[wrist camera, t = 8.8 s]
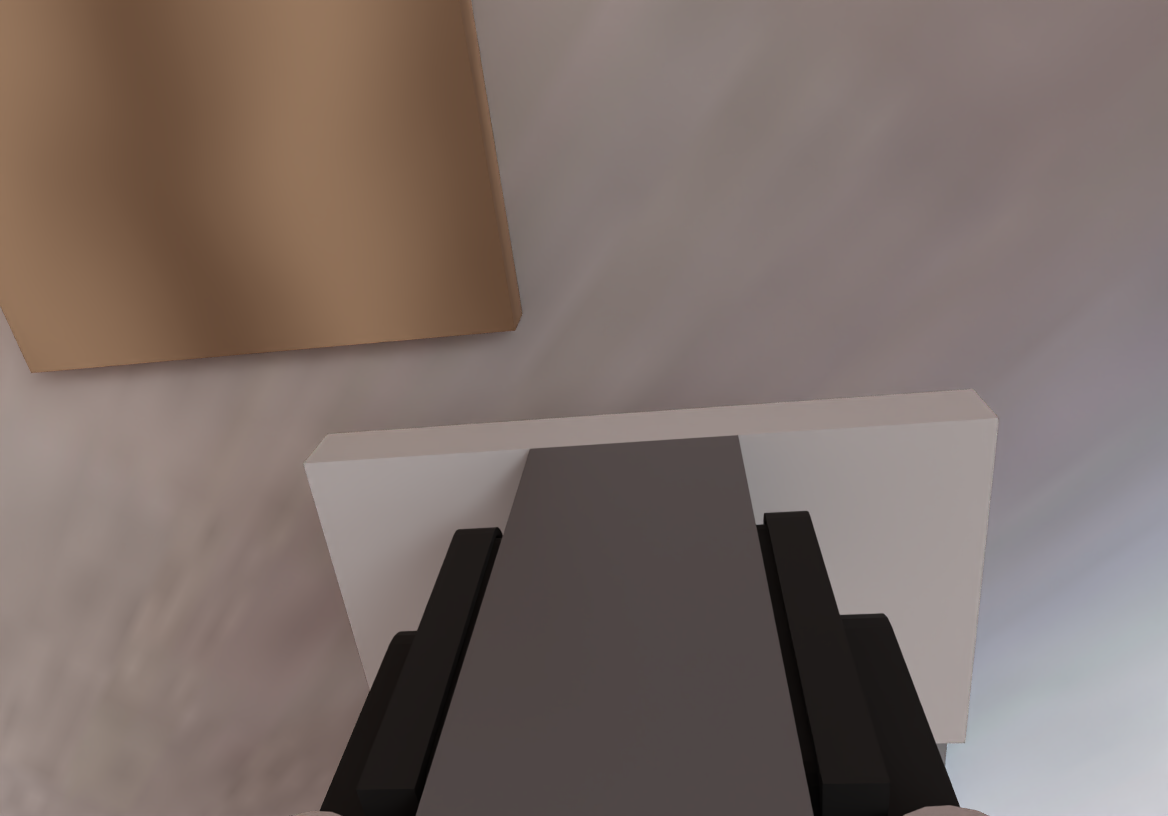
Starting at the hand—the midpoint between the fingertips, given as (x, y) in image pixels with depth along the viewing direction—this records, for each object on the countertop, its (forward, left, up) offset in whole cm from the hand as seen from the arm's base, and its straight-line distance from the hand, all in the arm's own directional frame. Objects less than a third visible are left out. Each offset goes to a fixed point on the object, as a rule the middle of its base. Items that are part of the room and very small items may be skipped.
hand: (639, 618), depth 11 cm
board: (+8, -7, -8) cm, 13 cm away
